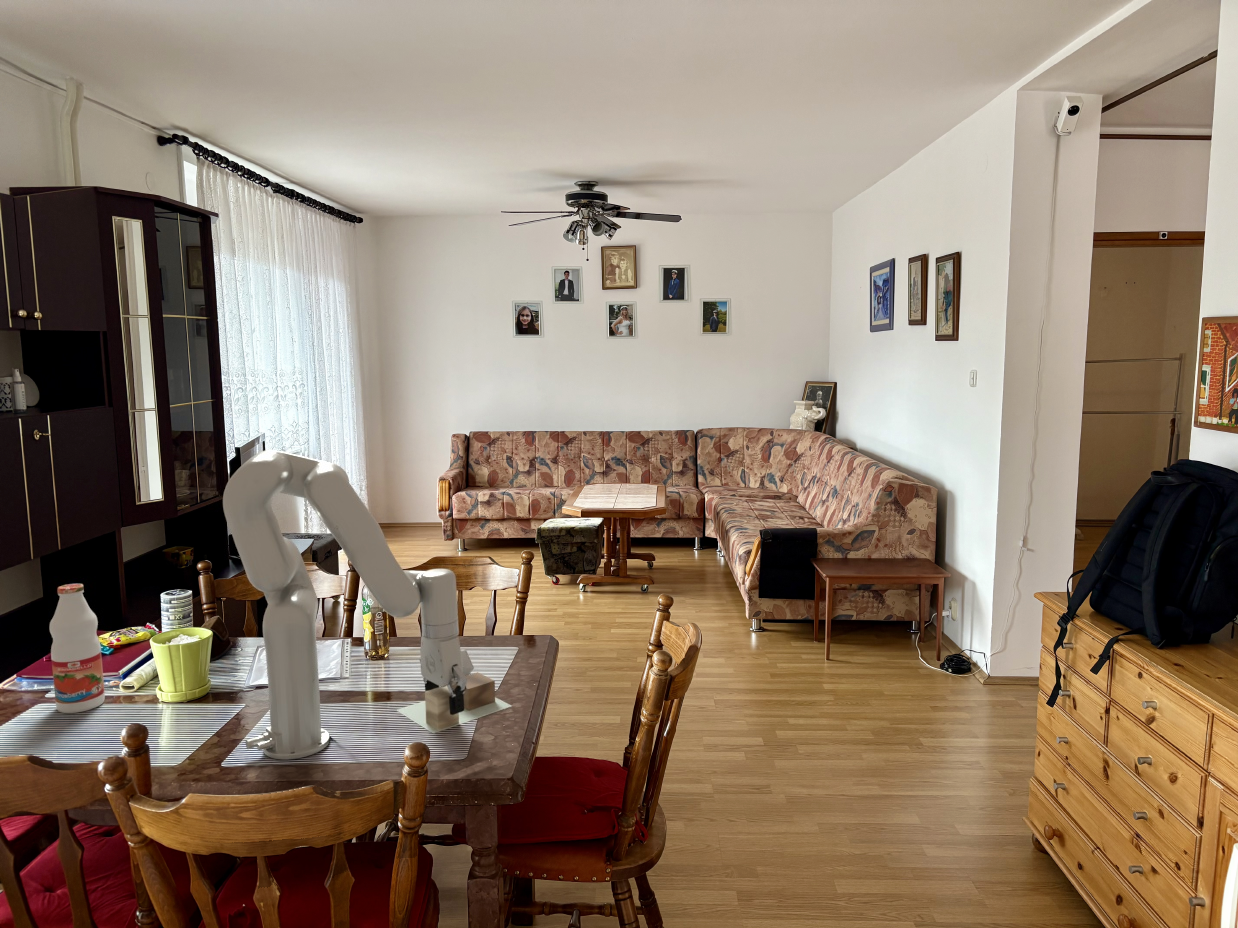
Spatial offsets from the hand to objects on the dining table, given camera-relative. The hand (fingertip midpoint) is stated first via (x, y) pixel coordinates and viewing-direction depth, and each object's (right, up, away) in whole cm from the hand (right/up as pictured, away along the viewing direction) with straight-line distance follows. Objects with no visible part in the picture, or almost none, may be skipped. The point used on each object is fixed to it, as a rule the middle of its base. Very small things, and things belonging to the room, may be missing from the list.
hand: (444, 705), depth 176 cm
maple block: (-1, -4, 0) cm, 4 cm away
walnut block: (+4, -2, +11) cm, 12 cm away
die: (-3, -2, +27) cm, 27 cm away
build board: (0, -4, +8) cm, 9 cm away
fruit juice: (-86, -4, +13) cm, 87 cm away
